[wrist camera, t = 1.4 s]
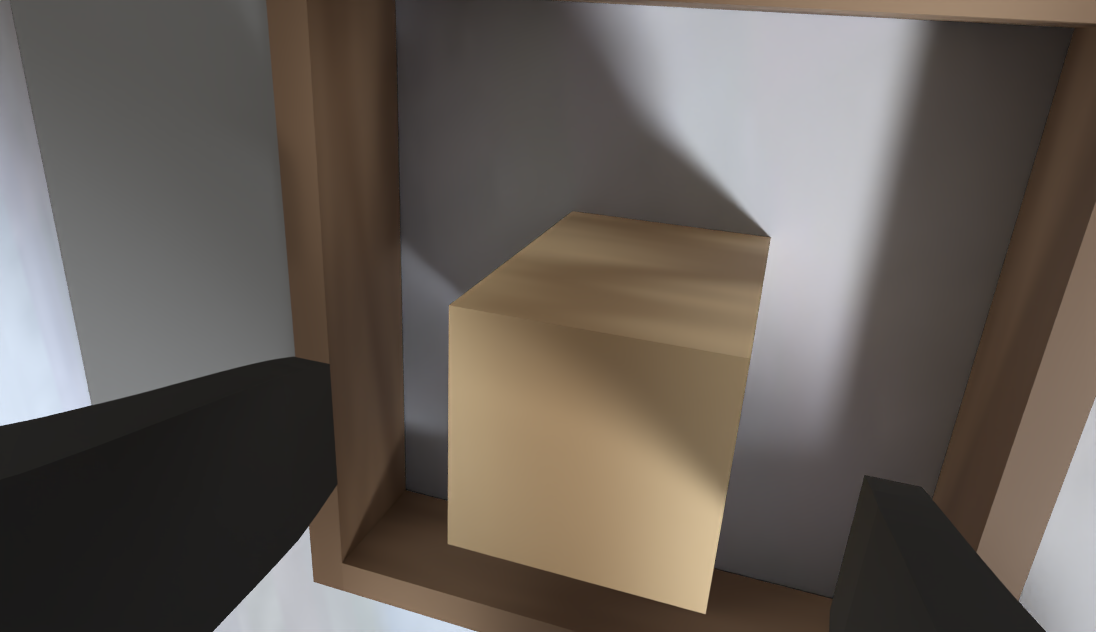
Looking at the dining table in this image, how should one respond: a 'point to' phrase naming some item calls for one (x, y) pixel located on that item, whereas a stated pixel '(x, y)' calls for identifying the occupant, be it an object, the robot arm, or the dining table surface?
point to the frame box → (734, 601)
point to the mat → (161, 183)
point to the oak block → (603, 402)
